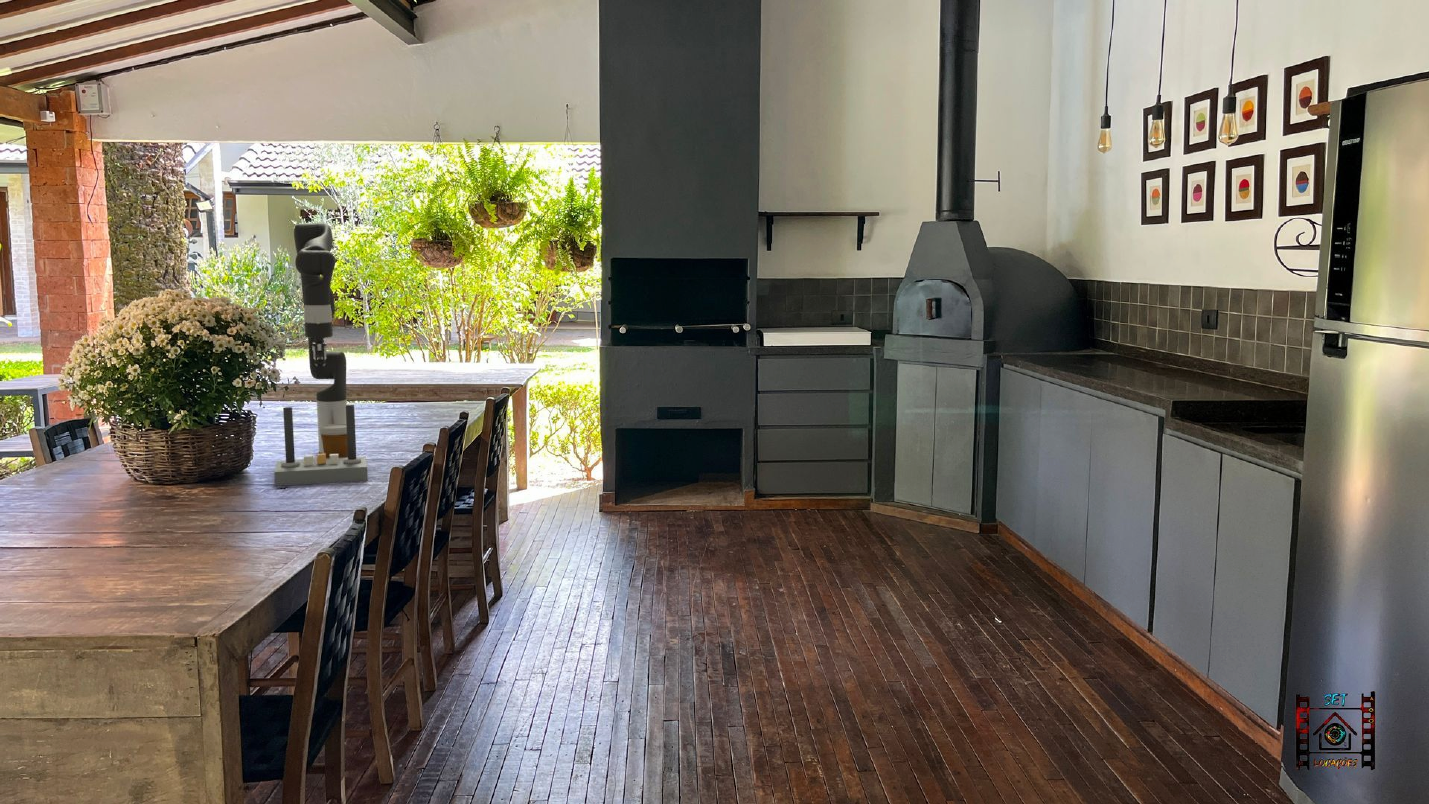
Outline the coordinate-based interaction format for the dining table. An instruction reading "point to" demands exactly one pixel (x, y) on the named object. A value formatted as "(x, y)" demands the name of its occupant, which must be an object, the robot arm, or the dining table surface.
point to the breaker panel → (320, 471)
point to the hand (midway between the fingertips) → (321, 377)
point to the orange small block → (321, 458)
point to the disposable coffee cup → (334, 439)
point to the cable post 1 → (289, 439)
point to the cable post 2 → (351, 436)
